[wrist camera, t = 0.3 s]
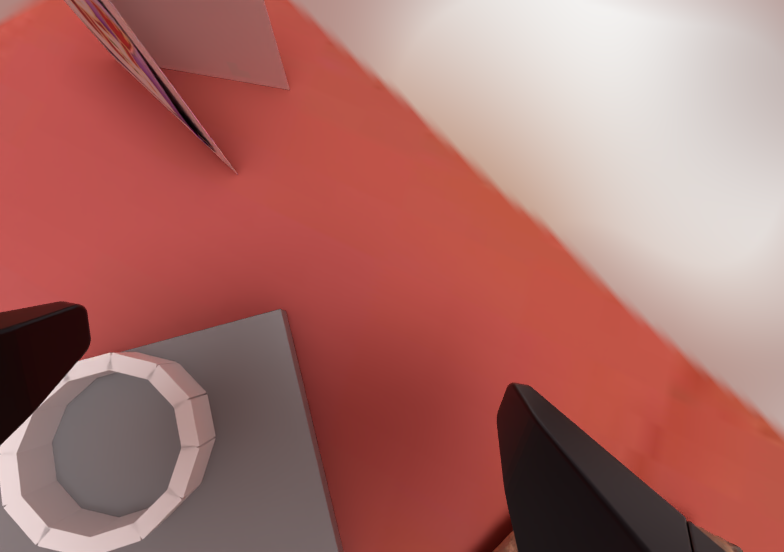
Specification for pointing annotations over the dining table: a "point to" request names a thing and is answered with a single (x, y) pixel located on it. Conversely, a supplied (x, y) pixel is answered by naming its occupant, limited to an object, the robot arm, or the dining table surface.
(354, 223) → the dining table surface
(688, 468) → the dining table surface
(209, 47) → the greeting card
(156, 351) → the duct flange
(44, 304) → the robot arm
